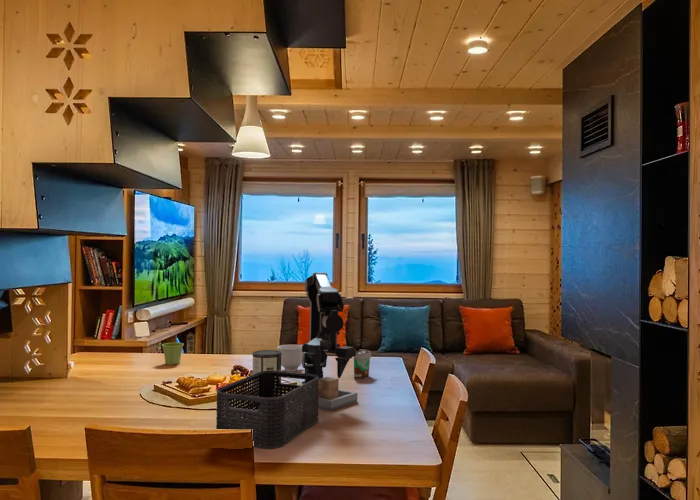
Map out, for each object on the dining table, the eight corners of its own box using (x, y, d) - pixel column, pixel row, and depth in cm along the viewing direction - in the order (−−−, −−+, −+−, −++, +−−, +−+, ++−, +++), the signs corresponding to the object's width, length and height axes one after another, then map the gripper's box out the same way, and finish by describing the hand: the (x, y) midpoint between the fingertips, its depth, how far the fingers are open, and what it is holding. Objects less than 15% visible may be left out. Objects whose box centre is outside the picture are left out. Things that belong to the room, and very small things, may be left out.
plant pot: (179, 366, 242) (180, 346, 242) (158, 365, 242) (158, 345, 242) (186, 362, 251) (186, 342, 251) (165, 361, 251) (165, 342, 252)
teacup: (314, 368, 239) (315, 345, 240) (293, 374, 227) (293, 349, 227) (292, 365, 246) (293, 342, 246) (270, 370, 233) (271, 347, 234)
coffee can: (268, 387, 204) (269, 348, 204) (287, 392, 197) (287, 352, 197) (245, 392, 197) (246, 352, 197) (264, 397, 190) (264, 355, 190)
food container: (368, 380, 218) (369, 354, 218) (353, 379, 219) (353, 353, 219) (373, 373, 230) (373, 349, 230) (359, 373, 231) (359, 348, 231)
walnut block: (316, 400, 183) (317, 379, 183) (326, 397, 187) (326, 376, 187) (328, 403, 180) (329, 381, 180) (338, 399, 184) (338, 378, 184)
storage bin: (276, 451, 137) (277, 397, 138) (210, 441, 144) (210, 389, 144) (322, 420, 164) (322, 374, 164) (264, 413, 171) (264, 369, 171)
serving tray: (297, 403, 182) (297, 394, 182) (324, 395, 193) (324, 386, 193) (331, 410, 173) (331, 401, 173) (357, 401, 185) (357, 392, 185)
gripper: (290, 328, 182) (290, 376, 182) (335, 333, 171) (335, 384, 171) (312, 325, 191) (312, 371, 191) (356, 329, 180) (356, 378, 180)
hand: (328, 376), depth 183 cm, fingers open, 9 cm apart
